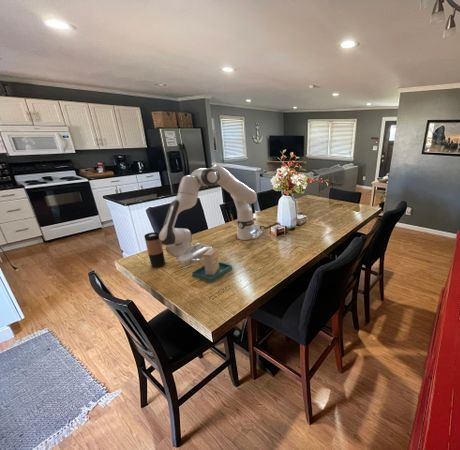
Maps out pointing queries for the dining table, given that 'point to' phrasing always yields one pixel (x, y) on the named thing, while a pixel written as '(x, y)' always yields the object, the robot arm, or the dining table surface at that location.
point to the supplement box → (211, 261)
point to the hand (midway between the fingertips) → (205, 257)
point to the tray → (221, 271)
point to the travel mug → (155, 249)
